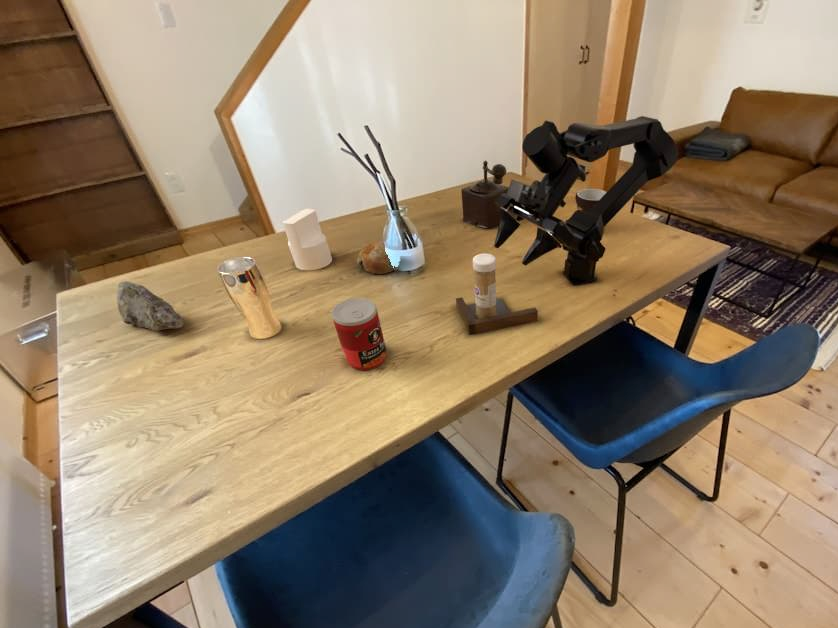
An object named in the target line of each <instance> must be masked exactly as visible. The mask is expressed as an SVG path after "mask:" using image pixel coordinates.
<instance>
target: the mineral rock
mask: <svg viewBox="0 0 838 628" xmlns="http://www.w3.org/2000/svg"><path fill="white" fill-rule="evenodd" d="M116 301H117V309H118V310H117V311H118V312H119V315H120V316H121V320H122V322H123V323H124V324H126V325H135V326H137V327H140V328H146V329H149V330H150V331H151V332H152V331H153V332H158V331H162V330H167V329H180V328H182V327H183V326H184V319H183V317H182V316H181V315H180V313H178V312H176V311H175V309H174V307H173V306H172V305H171V304H170V303H169V302H167V301H165V300H164V299H163V298H161V297H159V296H157V295H156V294H155V293H153V292H152V291H151V290H150V289H148V288H147V287H145V286H144V285H142V284H138V283H133V282H130V281H127V280H125V281H124V280H123V281H120V282H118V285H117V290H116Z"/></svg>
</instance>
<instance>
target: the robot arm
mask: <svg viewBox="0 0 838 628" xmlns="http://www.w3.org/2000/svg"><path fill="white" fill-rule="evenodd" d="M630 145H633V149H634V150H635V152H634V154H633V159H632V164H631V166H630V167H629V168H628V169H627V170H626V171H625V172H624V173H623V174H622V175H621V176H620V178H619V179H618V180H617V181H615V183H614V184H613V185H612V186H611V187H610V188H609V189H608V190H607V191H605V192H606V193H605V195H604V196H603V197H602V198H601V199H600V200H599V201H598V202H597V203H596V204H595V205H594V206H593V207H592V208H591V209H590V210H589V211H587V212H583V211H581V210H577V209H576V210H575V211H574V212H573V213H572V215H571V216H570V217H569V218H567V219H566V220H562V219H561V218H558V217H556V216H554V215H555V213H556V211H557V210H558V209H559V207H560V208H565V206H566V204H567V203H566V201H565V200H564V199H565V198H566V196H567V195H568V194H569V192H570V191H571V189H572V188H573V186H574V184H575V183H576V182H577V180H578V181H581V182H586V180H587V174H586V166H585V165H583V164H580V163H578V162H577V160H576V159H578V160H582V161H584V162H587V163H594V162H596V161H598V160H600V159H601V158H604V157H606V155H607V154H608V152H609V151H611V150H613V149H617V148H621V147H626V146H630ZM521 148H522V152H523V153H524V154H525V155H526V157H527V158H528V159H529V160H530V161H531V163H532V164H533V165H534V166H535V168H536V169H537V170H538V171H539V172H540V173H542V174H544V175H543V176H542V178H541V180H536V179H535V180H534V181H533V182H532V183H531V184H530V185H529V184H526V183H524V182H521V181H518V180H515V179H510V181H509V186H508V187H509V188H508V191H507V194H506V193H503V194H500V195H499V197H498V198H497V200H496V201H495V204H497V205H498V206H499V207H498V206H497V210H498V211H499V214H500V223H499V225H498V228H497V232H496V236H495V240H494V244H493V246H494V248H495V249H499V248H500V247H502V246H503V245H504V244H505V243H506V241H507V240H508V239H509V238H510V237H511V236H512V235H513V234H514V233H515V232H516V231H517V229H519V228H520V227H521V223H520V222H521V221H523V220H525V221H527V222H529V223H531V224H533V225H535V226H537V228H536V237H535V239H534V241H533V242H532V244H531V245H530V247H529V248H528V250H527V252H526V254H525V255H524V257H523V259H522V261H521V264H522V265H523V266H527V265H529V264H530V263H533V262H534V261H536V260H537V259H539V258H541V257H542V256H544V255H546V254H547V253H550V252H552V251H554V250H556V249H558V248H559V249H561V248H562V250H563V251H566V252H567V254H566V259H565V260H564V267H563V270H562V273H561V274H562V275H563V276H564V277H565V278H566V280H568V281H569V283H570V284H571V285H573V286H578V285H584V284H589V283H594V282H595V283H596V282H598V277H596V275H595V274H596V268H597V262H599V261H600V259H602V258H603V257H604V255H605V252H606V247H605V246H604V245H603V244H602V242H601V241H602V240H603V236H604V231H605V227H606V226H607V225H608V224H609V223H610V221H611V220H612V219H614V217H616V215H617V214H618V213H619V212H621V210H623V208H624V207H625V206H626V205H627V204H628V203H629V201H630V200H632V199H633V197H635V195H636V194H637V193H638V192H639V191H640V190H641V189H642V187H644V185H646V184H647V182H650V181H653V180H655V179H658V178H660V177H663V176H664V175H665V174H666V173H667V172H668V171H670V170H671V169H672V168H673V166H675V164H676V163H677V161H678V158H679V150H678V147H677V144H676V142H675V140H674V138H672V136H670V134H669V133H668V132H667V131H666V130H665V129H664V127H663V124H662V122H661V121H660V120H659V119H658V118H654V117H649V116H646V115H645V116H644V115H640V116H638V117H636V118H631V119H627V120H623V121H618V122H613V123H608V124H602V125H599V124H593V123H583V122H582V123H581V122H573V123H571V124H570V125H569V126H568V127H567V129H566V130H564V131H561V132H559V130H558V127H557V126H556V124H555V122H553V121H551V120H547V119H546V120H544V122H543V123H542V124H541V125H539V126H537V127H534V129H532V130H531V131H530V132H529V133H526V136H525V137H524V139H523V141H522V147H521Z"/></svg>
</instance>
